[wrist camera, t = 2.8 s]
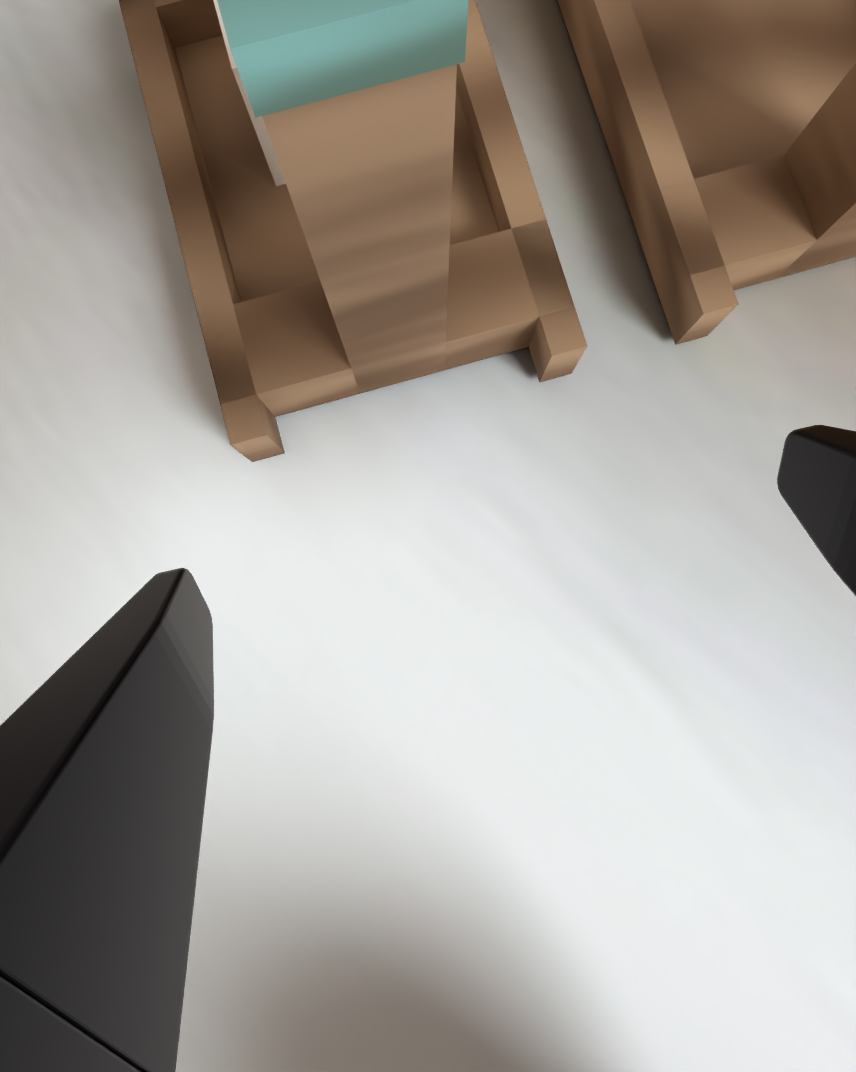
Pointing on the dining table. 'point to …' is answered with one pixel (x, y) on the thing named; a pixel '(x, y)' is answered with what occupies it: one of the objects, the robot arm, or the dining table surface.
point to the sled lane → (346, 199)
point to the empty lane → (726, 138)
